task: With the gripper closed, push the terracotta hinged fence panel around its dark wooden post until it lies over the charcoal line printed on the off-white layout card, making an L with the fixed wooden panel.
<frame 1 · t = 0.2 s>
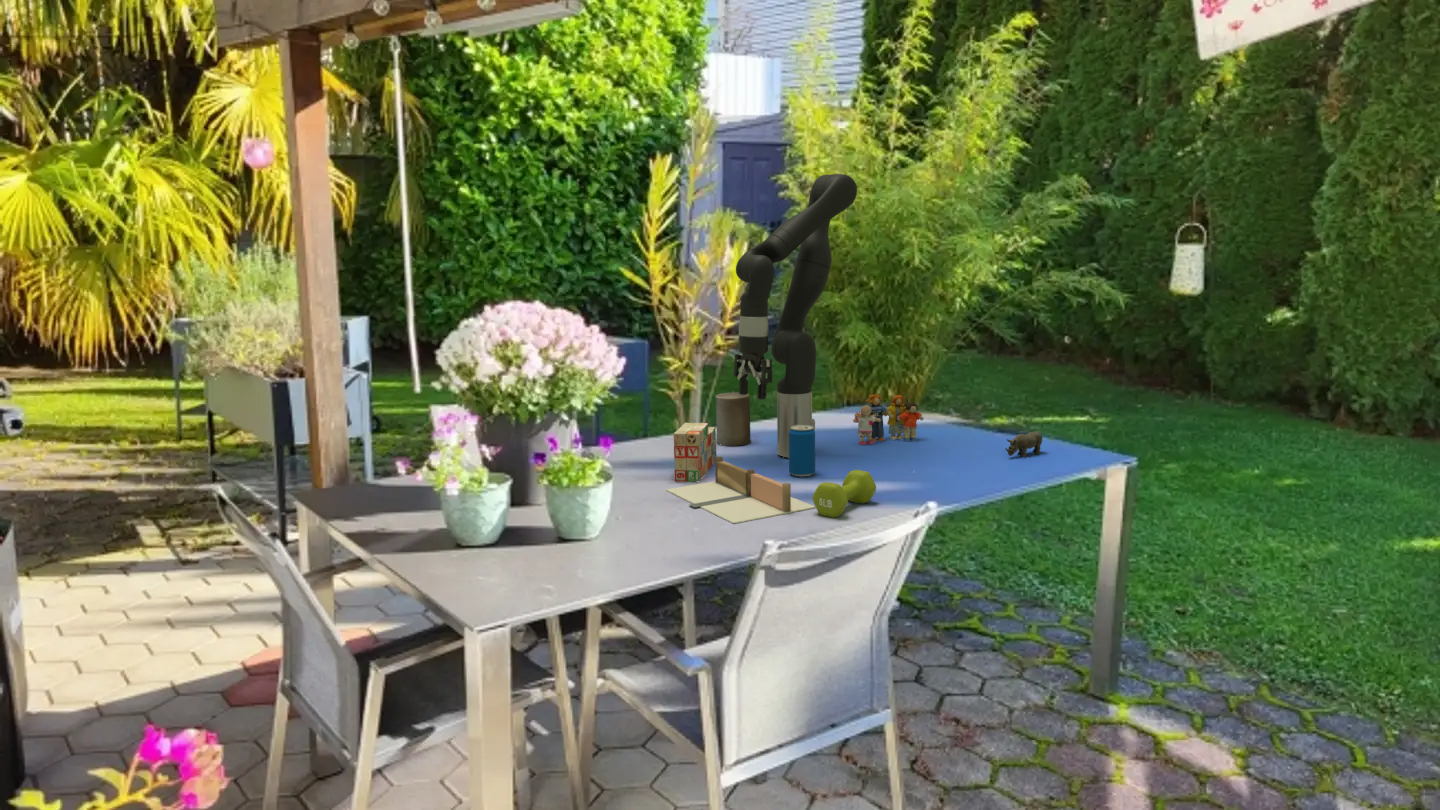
hand: (752, 396, 264), 17 cm above the table, tool pointing down, fingers open, 8 cm apart
dumbbell: (844, 509, 226), on the table
gate: (770, 490, 228), point 3 cm above the table, hinge at 0.0°
beverage can: (802, 475, 255), on the table
doll family: (883, 440, 291), on the table
pillar candle: (733, 443, 291), on the table
stack of blocks: (696, 472, 260), on the table
fence: (751, 496, 236), resting on layout card
layout card: (738, 499, 234), on the table
rhino figurine: (1022, 456, 270), on the table
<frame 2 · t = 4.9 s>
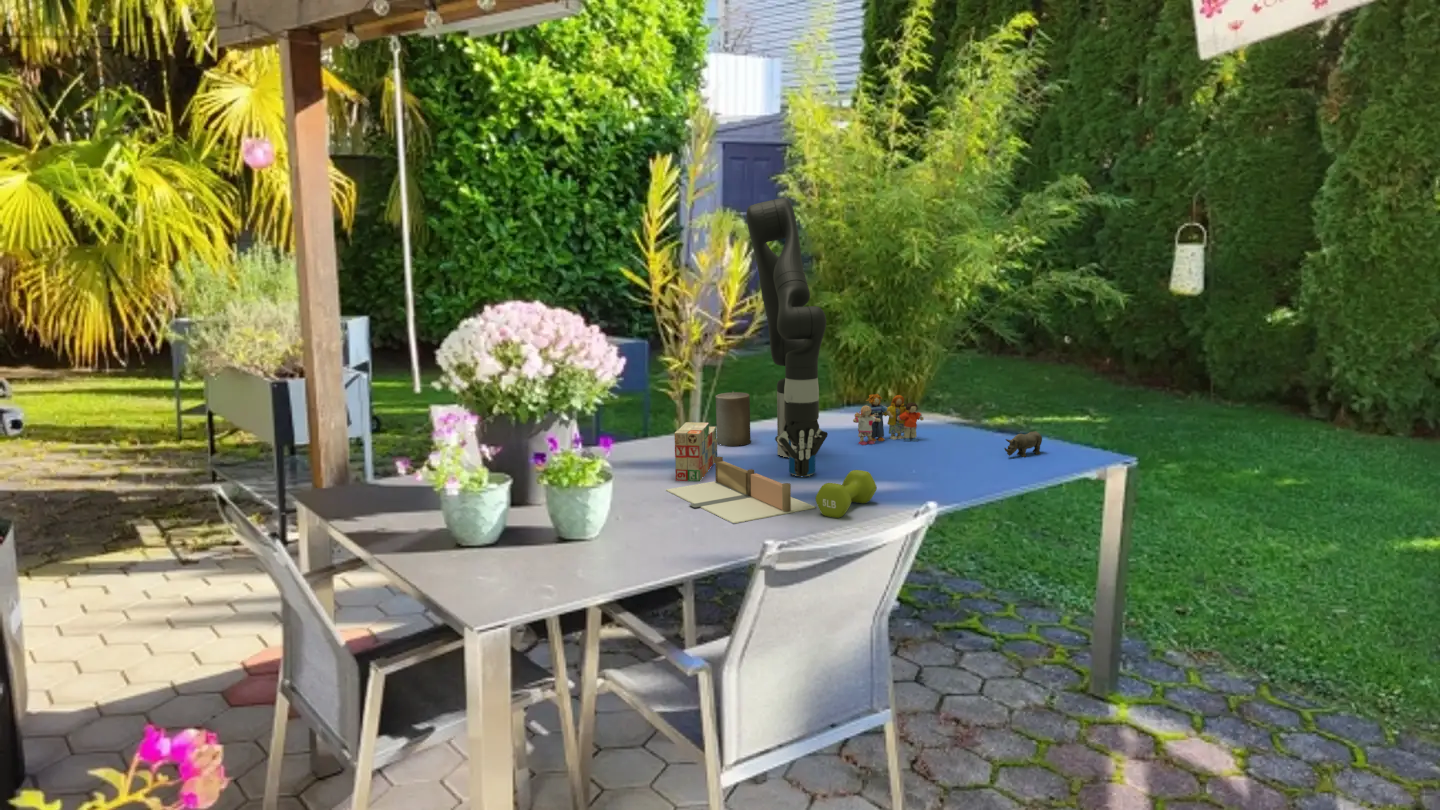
hand: (801, 475, 227), 7 cm above the table, tool pointing down, fingers closed
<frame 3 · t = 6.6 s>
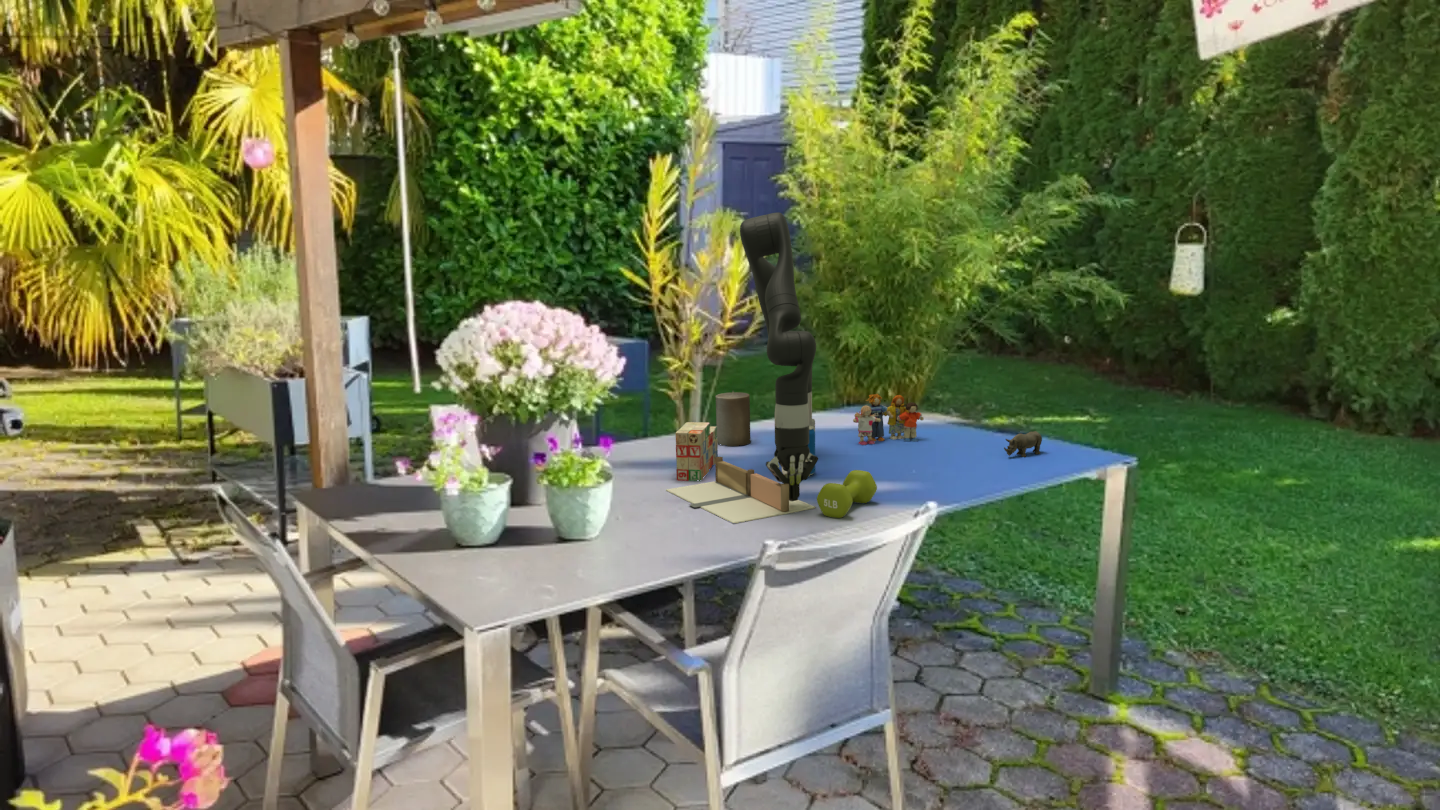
hand: (792, 500, 227), 2 cm above the table, tool pointing down, fingers closed
gate: (769, 490, 228), point 3 cm above the table, hinge at 1.7°, touching gripper
everything else where it was.
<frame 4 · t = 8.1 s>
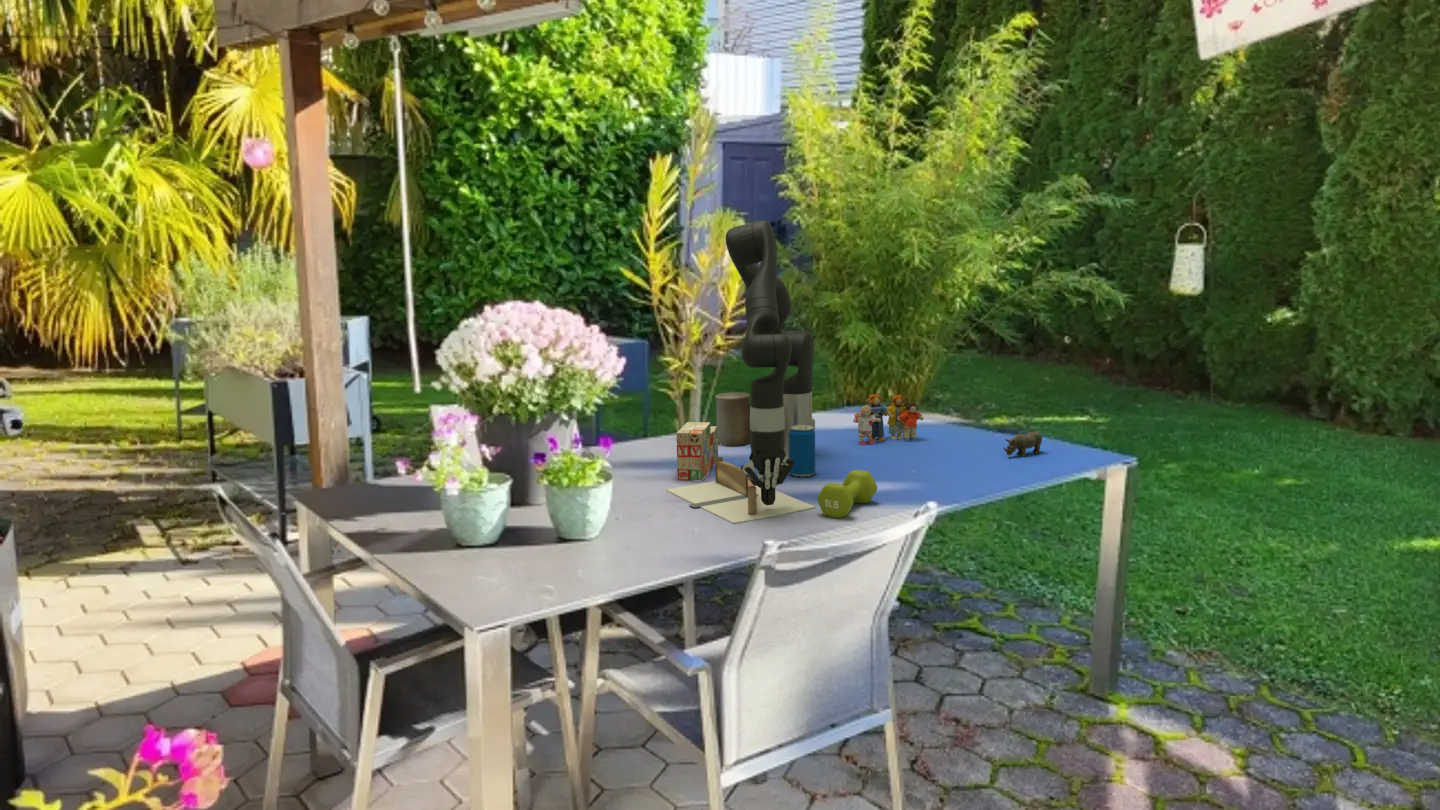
hand: (768, 504, 224), 2 cm above the table, tool pointing down, fingers closed
gate: (751, 492, 227), point 3 cm above the table, hinge at 30.9°, touching gripper
everything else where it was.
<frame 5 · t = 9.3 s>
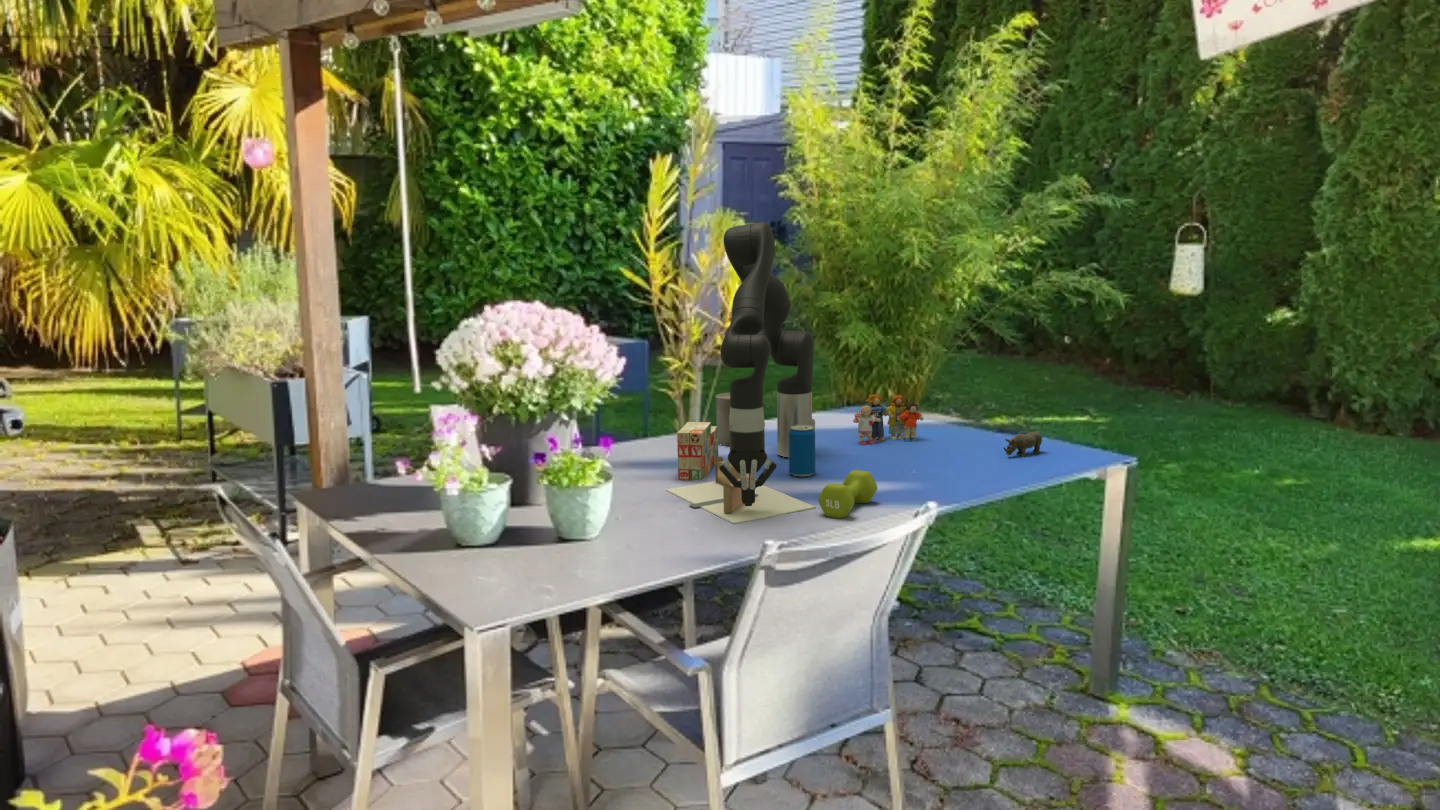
hand: (748, 505, 224), 2 cm above the table, tool pointing down, fingers closed
gate: (738, 491, 228), point 3 cm above the table, hinge at 52.0°, touching gripper
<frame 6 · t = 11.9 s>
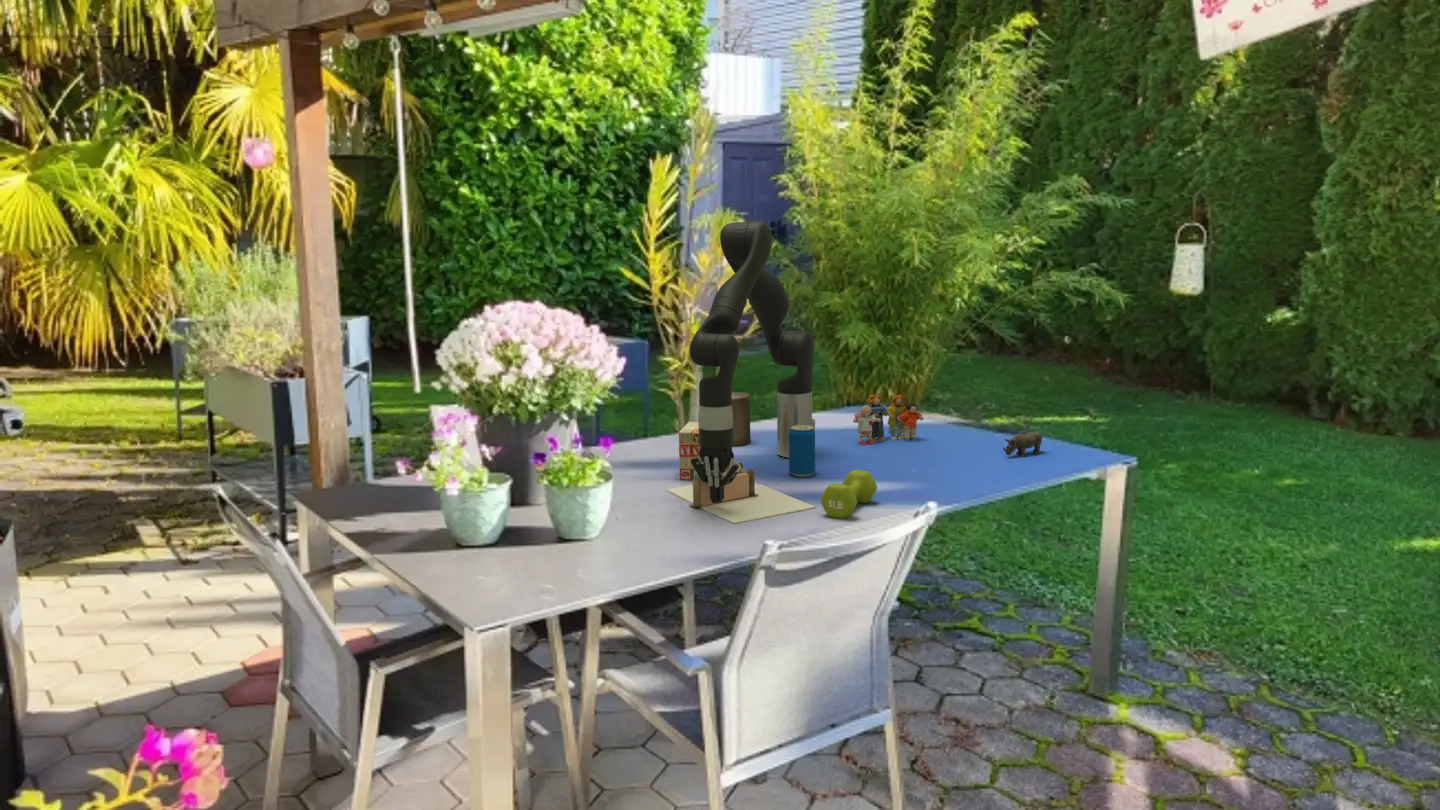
hand: (717, 502, 226), 2 cm above the table, tool pointing down, fingers closed
gate: (720, 488, 231), point 3 cm above the table, hinge at 86.6°, touching gripper
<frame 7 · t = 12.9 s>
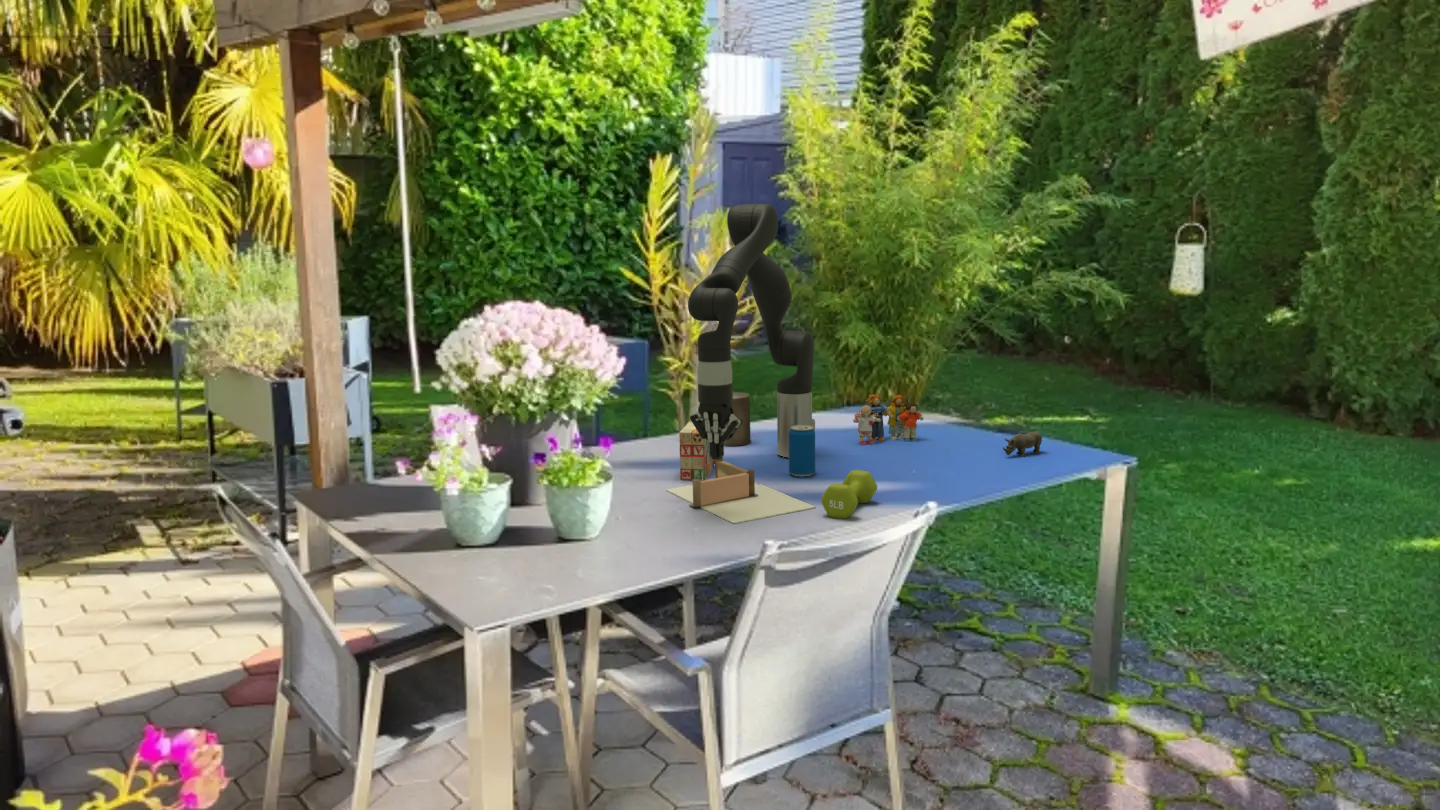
hand: (716, 458, 225), 11 cm above the table, tool pointing down, fingers closed
gate: (720, 488, 231), point 3 cm above the table, hinge at 86.9°
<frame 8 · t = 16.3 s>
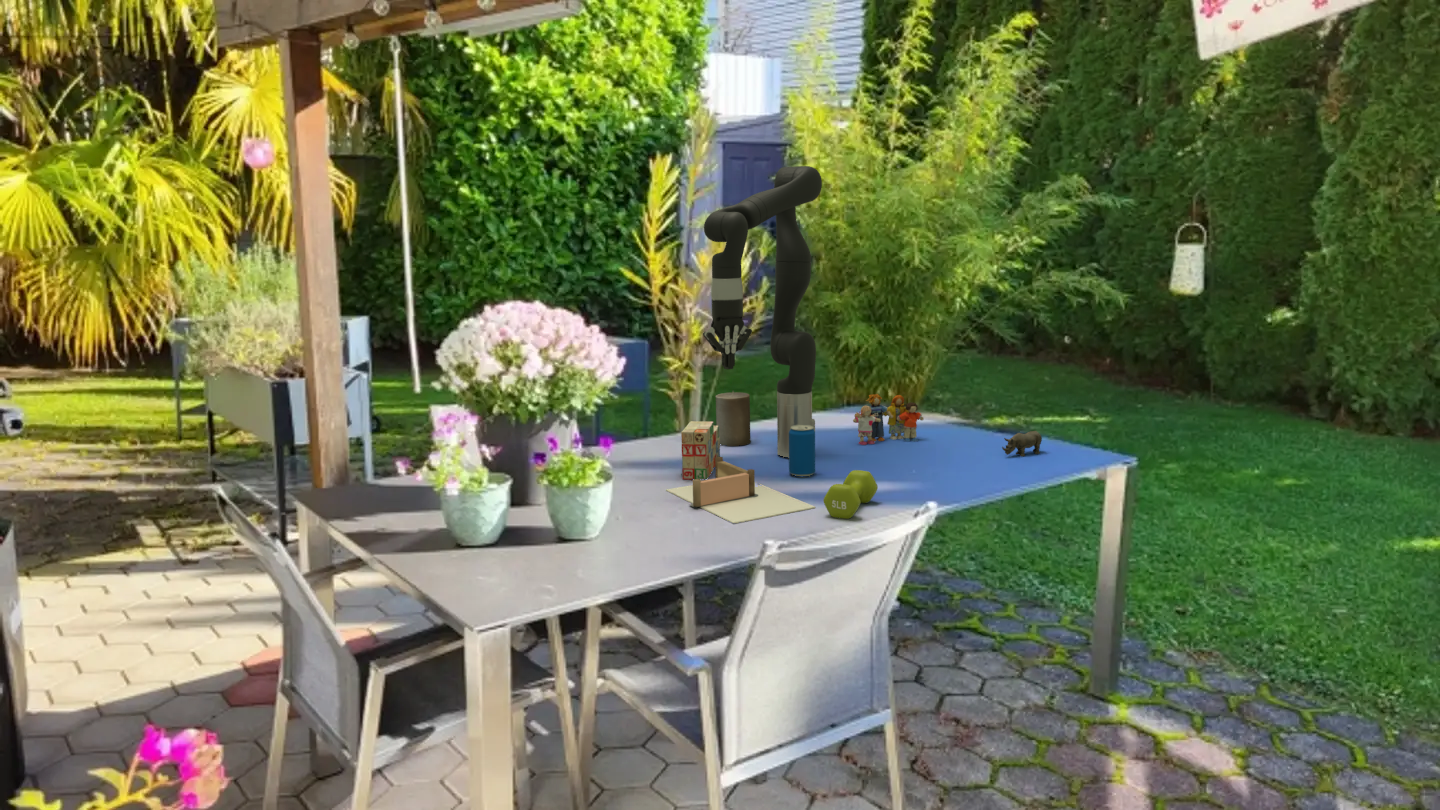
hand: (728, 368, 248), 27 cm above the table, tool pointing down, fingers closed
at the end: gate at +87° (first picture: +0°); gate touching nothing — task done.
